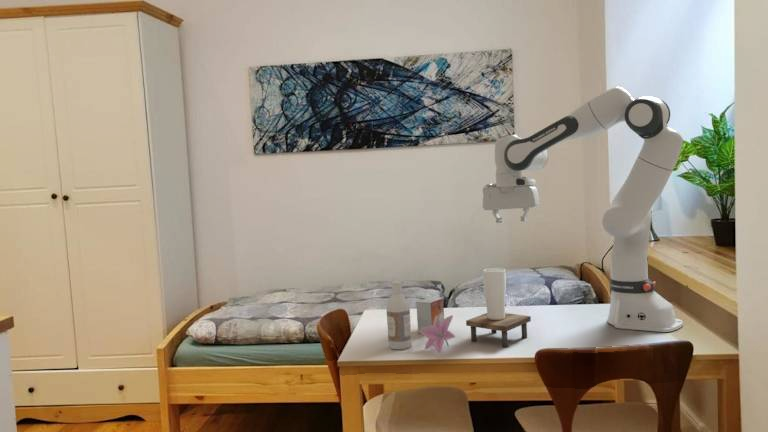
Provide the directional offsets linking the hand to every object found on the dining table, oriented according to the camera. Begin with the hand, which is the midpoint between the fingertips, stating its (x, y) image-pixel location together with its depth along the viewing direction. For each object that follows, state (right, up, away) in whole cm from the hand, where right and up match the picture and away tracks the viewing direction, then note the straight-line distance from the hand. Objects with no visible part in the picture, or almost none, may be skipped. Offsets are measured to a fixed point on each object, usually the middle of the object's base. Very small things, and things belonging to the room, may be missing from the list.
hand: (511, 222), depth 232 cm
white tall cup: (-10, -29, -28) cm, 42 cm away
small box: (-29, -36, -13) cm, 48 cm away
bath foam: (-39, -38, -29) cm, 62 cm away
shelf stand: (-9, -36, -27) cm, 46 cm away
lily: (-28, -38, -34) cm, 58 cm away
